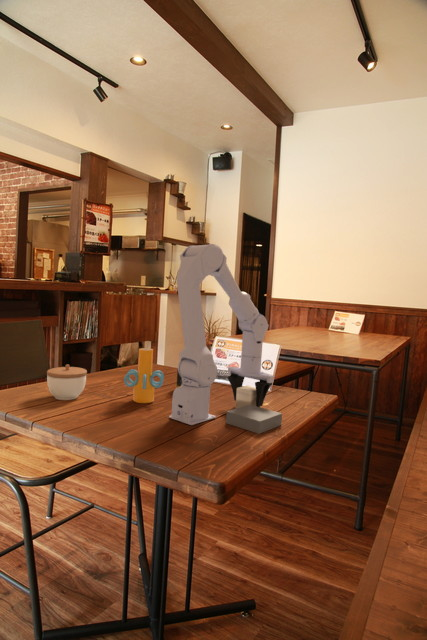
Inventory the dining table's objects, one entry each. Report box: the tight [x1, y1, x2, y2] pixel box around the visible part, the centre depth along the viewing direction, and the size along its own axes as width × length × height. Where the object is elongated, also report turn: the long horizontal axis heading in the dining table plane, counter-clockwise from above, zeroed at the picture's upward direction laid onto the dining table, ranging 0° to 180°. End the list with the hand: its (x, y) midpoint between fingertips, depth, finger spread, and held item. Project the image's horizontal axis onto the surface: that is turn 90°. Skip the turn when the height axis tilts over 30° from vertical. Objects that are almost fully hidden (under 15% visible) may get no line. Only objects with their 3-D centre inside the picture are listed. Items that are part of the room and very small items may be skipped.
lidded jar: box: [46, 364, 88, 401], centre depth 119 cm, size 11×11×9 cm
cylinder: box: [123, 347, 165, 404], centre depth 120 cm, size 12×10×15 cm
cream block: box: [234, 385, 256, 409], centre depth 118 cm, size 5×5×6 cm
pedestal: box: [225, 405, 283, 435], centre depth 105 cm, size 10×10×3 cm
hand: (248, 403), depth 118 cm, fingers open, 7 cm apart
